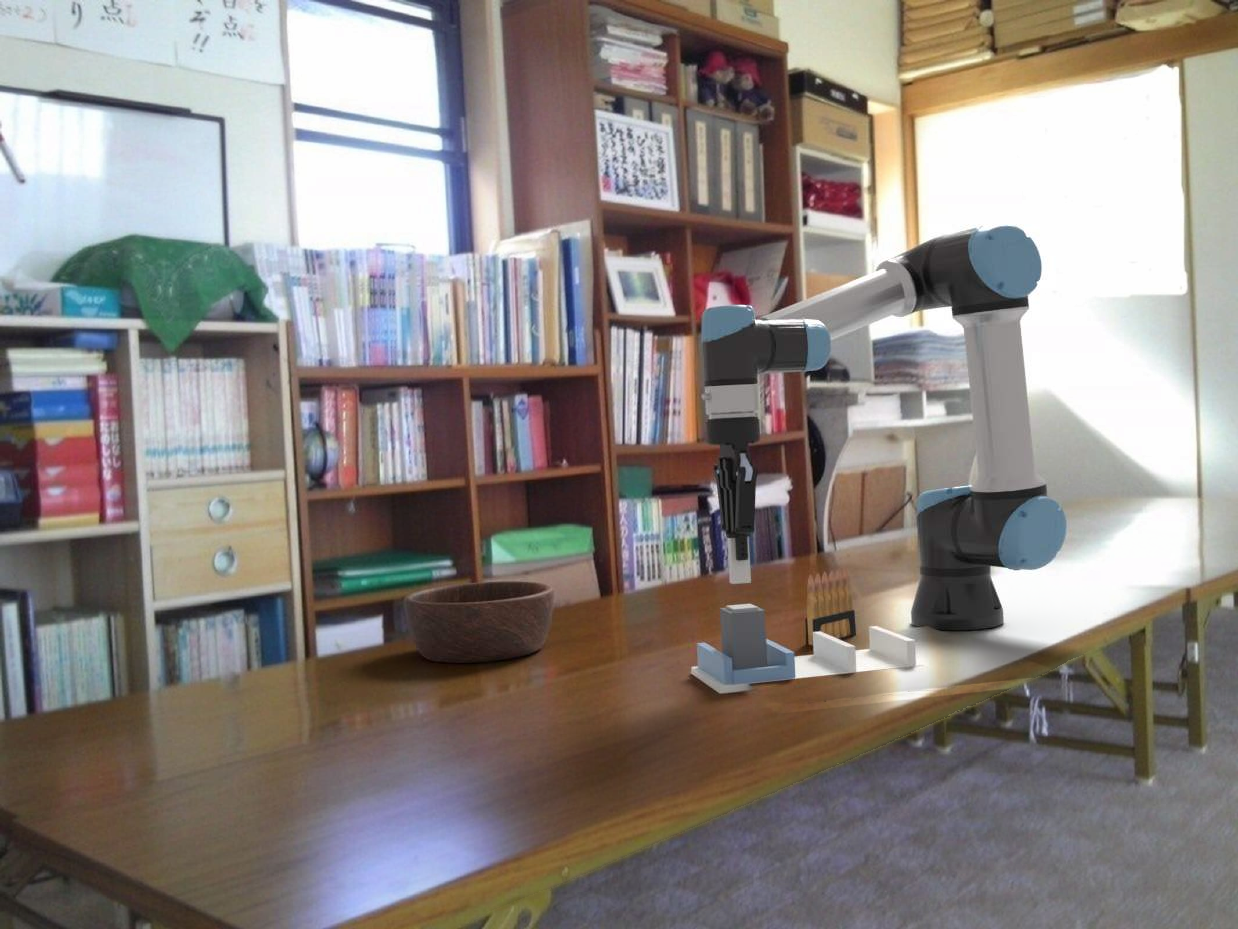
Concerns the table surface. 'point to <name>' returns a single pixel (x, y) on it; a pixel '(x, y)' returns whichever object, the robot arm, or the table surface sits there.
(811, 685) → the table surface
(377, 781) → the table surface
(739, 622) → the plug
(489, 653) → the wooden bowl
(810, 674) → the slotted holder tray
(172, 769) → the table surface
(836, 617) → the ammunition clip
